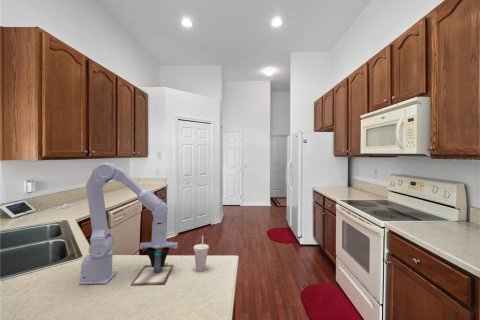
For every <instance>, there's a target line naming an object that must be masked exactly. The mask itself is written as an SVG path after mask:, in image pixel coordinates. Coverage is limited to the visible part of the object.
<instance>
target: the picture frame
mask: <svg viewBox="0 0 480 320" xmlns="http://www.w3.org/2000/svg"><path fill="white" fill-rule="evenodd" d="M173 267H174V264H168V262H165V264H164V267H162V272H160V273H154V267H152V266H151V263H150V264H145V265H144V266H143V267H142V269H141V270H140V272H139V273H138V274H137V275H136V276H135V278H134V279H133V281H132V282H131V283H130V286H131V287H132V286H133V287H134V286H164V285H166V283H167V282H168V281H167V280H168V279H169V276H170V274H171V272H172V270H173Z"/></svg>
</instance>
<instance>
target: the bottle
mask: <svg viewBox="0 0 480 320" xmlns="http://www.w3.org/2000/svg"><path fill="white" fill-rule="evenodd" d="M162 250H163V249H156V251H154V273H160V272H162V267H161V264H162Z"/></svg>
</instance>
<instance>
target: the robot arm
mask: <svg viewBox="0 0 480 320" xmlns="http://www.w3.org/2000/svg"><path fill="white" fill-rule="evenodd" d="M111 180H112V181H114V182H115V181H116V182H120V183H122V184H123V185H125V186H126V187H127V188H128V189H129V190H131V191H132V192H133V193H134V194H136V195H137V201H138V202H140V204H142V205H143V206H144V207H145V208H146V209H147V210H148V211H151V214H152V217H153V219H152V224H151V241H148V242H147V241H146V242H145V241H144V242H140V244H139V250H142V249H143V250H144V249H147V250H146V254H147V256H148V258H149V261H150V264H151V266H152V267H154V251H156V250H157V249H161V250H162V264H161V267H164V264H165V263H166V259H167V257H168V254H169V252H170V249H175V250H177V248H178V242H175V241H167V236H168V235H167V233H168V220H167V219H168V213H169V211H168V205H167V204H166V202H165V201H163V199H162V198H159V197H158V196H157V195H156V194H155V191H154V190H150V189H149V188H148V189H146V188H145V189H144V188H143V187H142V186H141V185H140V184H139V183H138V182H137V181H136V180H135V179H134V178H133V177H132V176H131V175H130V174H128V172H127V171H125V170H124V169H122V168H121V167H120V166H118V164H117V163H114V162H100V163H98V164H97V165H96V166H95V167H94V168H92V172H91V175H90V176H89V178H88V180H87V182H86V185H85V188H86V196H87V204H88V210H89V217H90V218H89V219H90V225H91V236H90V239H89V241H90V244H89V247H88V255H85V256H84V257H83V260H82V262H81V266H80V281H79V282H78V284H79V285H98V284H99V285H100V284H101V285H102V284H108V283H109V282H110V280H111V279H113V277H115V275H117V272H116V271H115V272H113V253H114V252H113V250H112V247H113V246H114V244H115V238H114V236H113V235H112V233H111V230H110V228H109V226H108V225H109V224H108V218H107V210H106V205H105V204H106V203H105V197H104V196H105V195H104V189H103V188H104V187H105V186H106V185H107V184H108V183H109V182H110V181H111Z"/></svg>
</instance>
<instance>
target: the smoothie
mask: <svg viewBox="0 0 480 320" xmlns="http://www.w3.org/2000/svg"><path fill="white" fill-rule="evenodd" d="M208 250H210V248H209V244H206V243H204V235H202V236H201V243H200V244H195V245H194V246H193V252H194V262H195V270H196V272H197V273H198V272H200V273H201V272H204V271H206V270H205V269H206V265H207V257H208V252H209V251H208Z"/></svg>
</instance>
